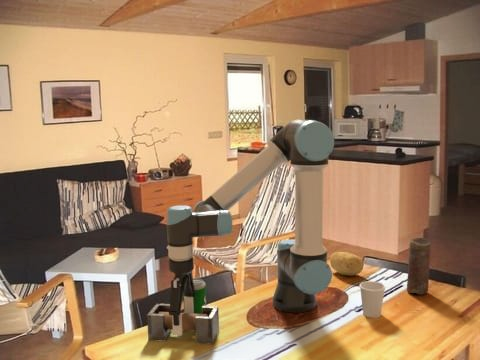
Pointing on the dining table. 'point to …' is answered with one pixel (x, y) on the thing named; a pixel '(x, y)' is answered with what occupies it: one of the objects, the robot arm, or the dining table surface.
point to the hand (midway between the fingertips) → (183, 325)
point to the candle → (418, 266)
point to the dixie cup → (372, 298)
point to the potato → (346, 263)
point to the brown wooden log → (187, 320)
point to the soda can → (198, 296)
